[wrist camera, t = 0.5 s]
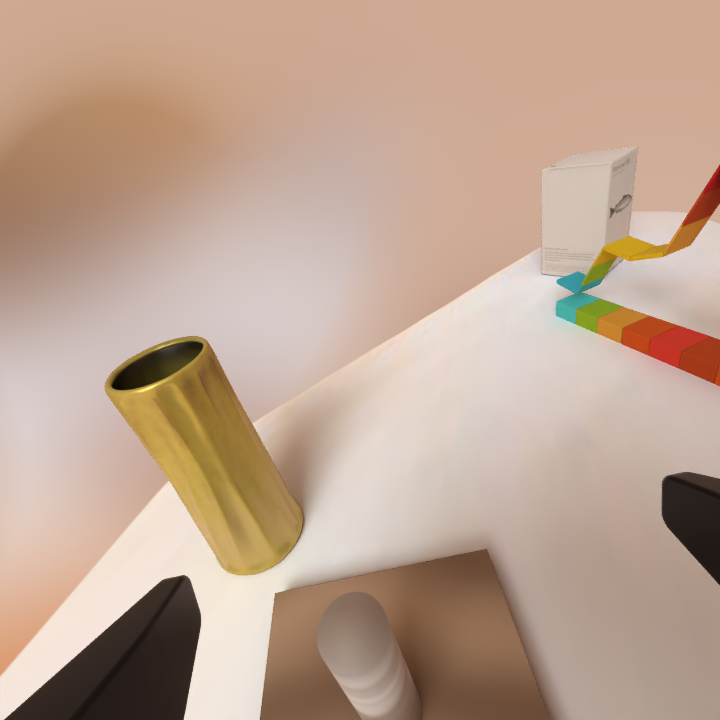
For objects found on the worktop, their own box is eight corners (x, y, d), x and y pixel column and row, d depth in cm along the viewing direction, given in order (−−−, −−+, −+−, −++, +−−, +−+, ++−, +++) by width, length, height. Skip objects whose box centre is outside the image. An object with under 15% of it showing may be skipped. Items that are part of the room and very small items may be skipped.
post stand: (630, 949, 11) (675, 917, 7) (238, 1002, 12) (86, 1000, 8) (487, 559, 22) (474, 457, 18) (281, 602, 23) (223, 514, 19)
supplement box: (602, 281, 45) (611, 161, 39) (539, 275, 50) (538, 169, 44) (628, 257, 48) (641, 144, 42) (567, 253, 54) (570, 152, 47)
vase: (218, 516, 29) (111, 357, 22) (296, 484, 30) (217, 320, 23) (217, 594, 24) (75, 417, 17) (311, 552, 25) (215, 367, 18)
